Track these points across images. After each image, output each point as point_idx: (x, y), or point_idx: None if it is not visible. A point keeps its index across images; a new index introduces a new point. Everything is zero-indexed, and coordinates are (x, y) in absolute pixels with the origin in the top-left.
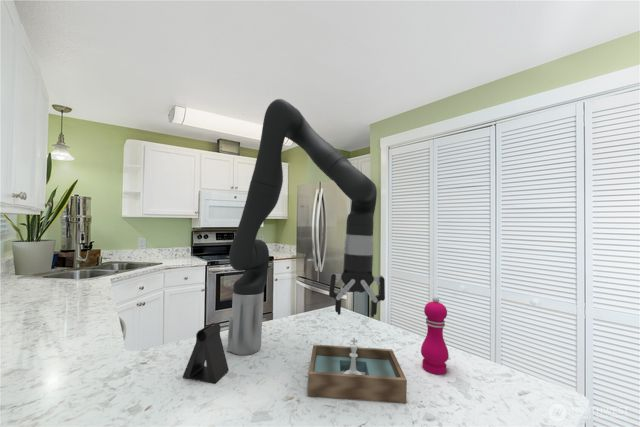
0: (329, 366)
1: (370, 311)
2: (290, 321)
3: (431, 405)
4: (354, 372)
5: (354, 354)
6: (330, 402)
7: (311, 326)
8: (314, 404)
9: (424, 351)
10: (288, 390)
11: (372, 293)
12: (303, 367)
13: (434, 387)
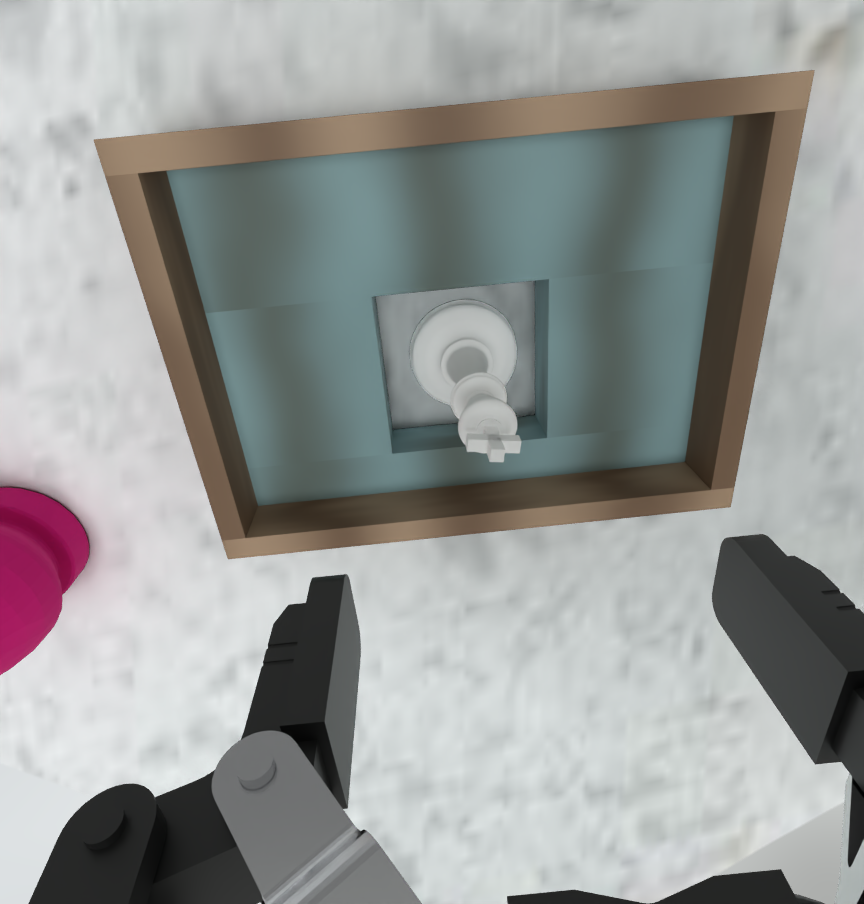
0: (613, 348)
1: (355, 661)
2: (770, 805)
3: (10, 154)
4: (458, 345)
5: (474, 391)
6: (596, 49)
7: (666, 785)
8: (692, 2)
9: (18, 574)
10: (835, 128)
11: (290, 897)
12: None
13: (9, 352)
